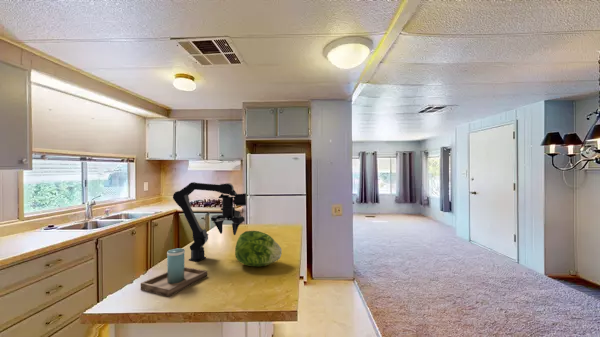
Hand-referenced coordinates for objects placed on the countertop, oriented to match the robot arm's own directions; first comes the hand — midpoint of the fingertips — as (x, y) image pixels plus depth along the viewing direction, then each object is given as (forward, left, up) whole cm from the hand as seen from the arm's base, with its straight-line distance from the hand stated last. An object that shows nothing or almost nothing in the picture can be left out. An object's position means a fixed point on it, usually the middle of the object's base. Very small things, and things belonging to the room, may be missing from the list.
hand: (227, 234), depth 139 cm
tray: (0, -34, -13) cm, 36 cm away
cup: (0, -34, -12) cm, 36 cm away
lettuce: (+22, -3, -13) cm, 26 cm away
